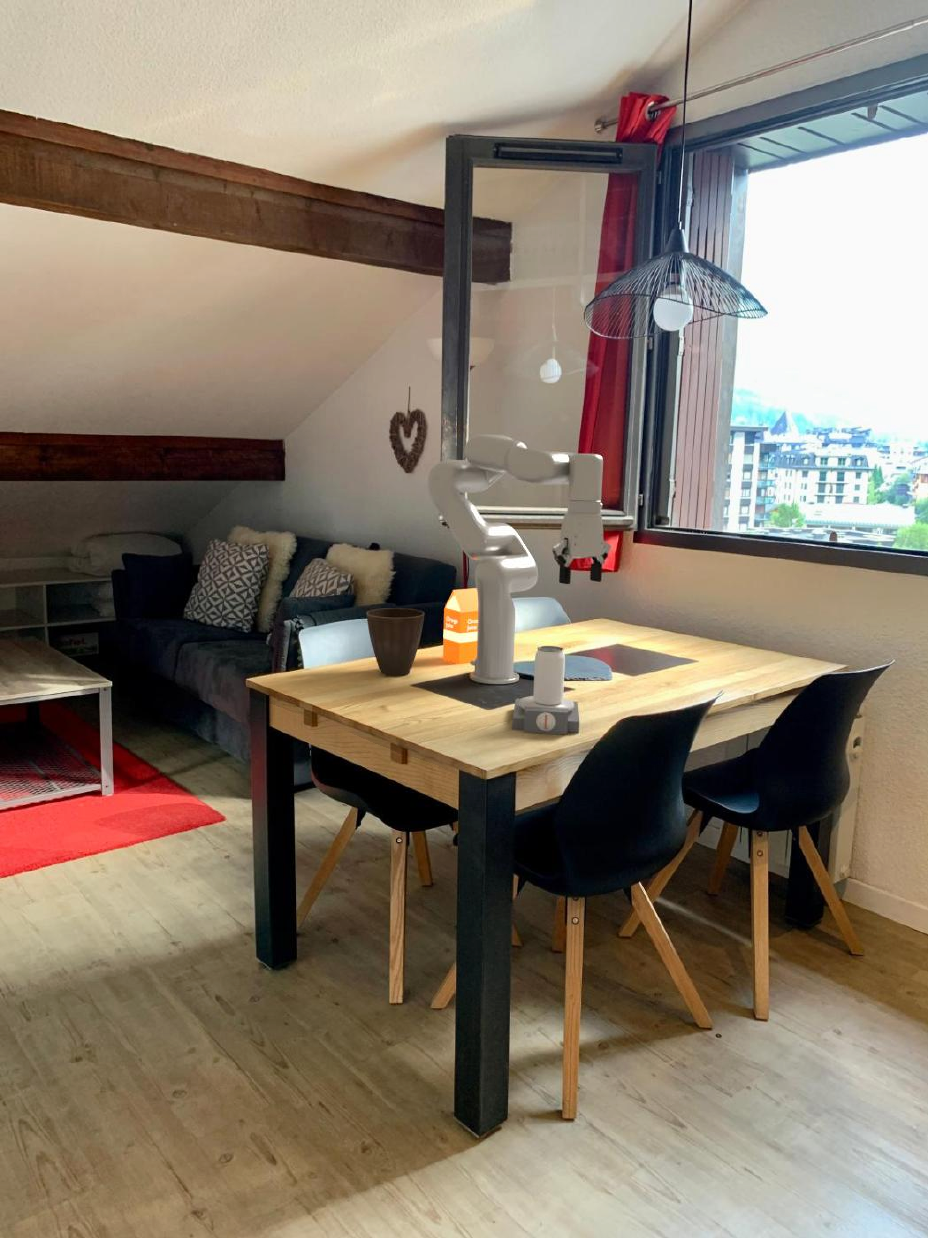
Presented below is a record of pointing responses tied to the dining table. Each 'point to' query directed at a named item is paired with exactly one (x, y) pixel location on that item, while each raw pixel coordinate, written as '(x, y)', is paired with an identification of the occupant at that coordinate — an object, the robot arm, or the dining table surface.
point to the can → (549, 675)
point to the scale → (545, 717)
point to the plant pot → (395, 638)
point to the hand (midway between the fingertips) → (580, 582)
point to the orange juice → (461, 626)
